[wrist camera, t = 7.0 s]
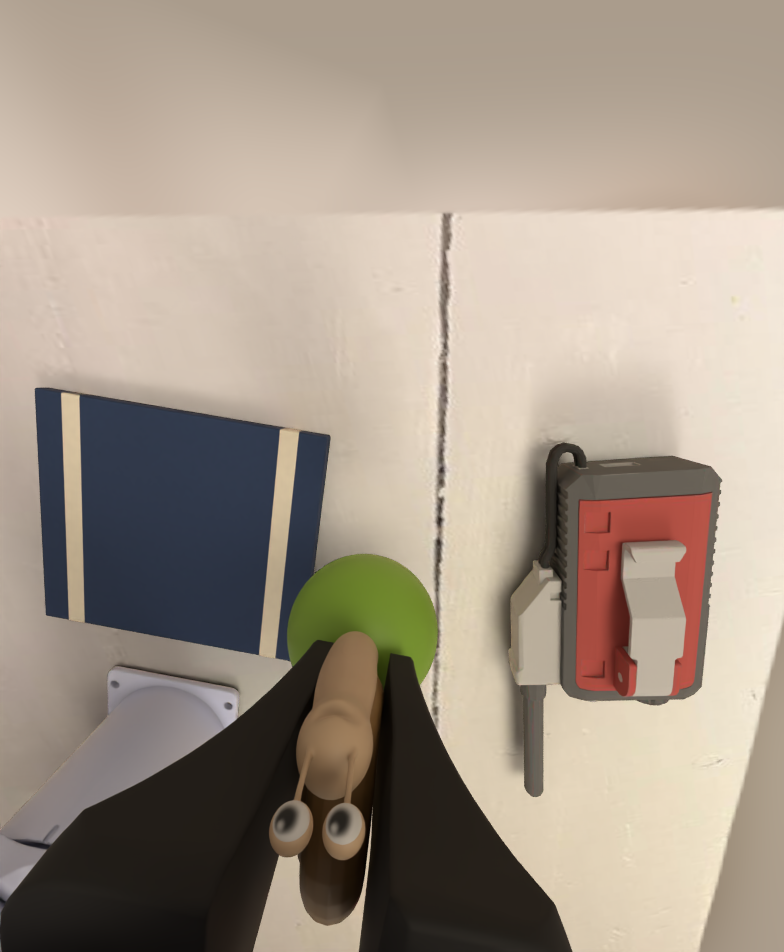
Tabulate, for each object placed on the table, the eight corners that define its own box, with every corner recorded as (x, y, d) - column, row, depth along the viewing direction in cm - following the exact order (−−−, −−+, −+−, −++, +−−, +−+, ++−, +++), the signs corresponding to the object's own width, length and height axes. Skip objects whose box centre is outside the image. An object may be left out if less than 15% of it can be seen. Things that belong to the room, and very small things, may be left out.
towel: (303, 654, 23) (299, 663, 22) (57, 608, 24) (44, 616, 23) (331, 435, 20) (327, 437, 19) (48, 387, 21) (33, 387, 20)
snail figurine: (437, 513, 16) (543, 848, 5) (425, 648, 18) (483, 1155, 6) (306, 506, 16) (83, 824, 5) (305, 641, 18) (135, 1139, 6)
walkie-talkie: (501, 443, 20) (509, 770, 24) (524, 458, 15) (528, 854, 20) (688, 429, 19) (661, 770, 23) (768, 442, 15) (716, 857, 19)
